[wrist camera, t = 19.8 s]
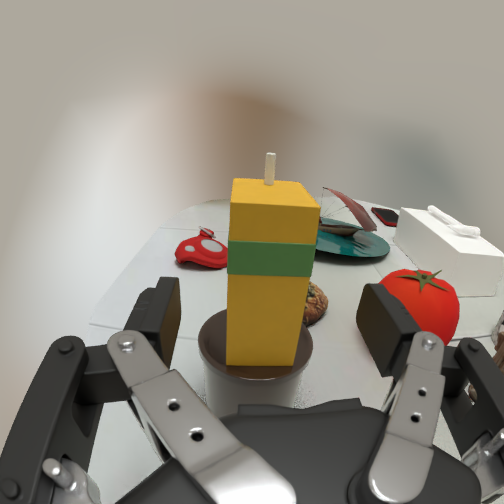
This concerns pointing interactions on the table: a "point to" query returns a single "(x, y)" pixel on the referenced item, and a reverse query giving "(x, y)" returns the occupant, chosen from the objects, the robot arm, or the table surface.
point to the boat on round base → (350, 233)
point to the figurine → (501, 359)
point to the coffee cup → (247, 372)
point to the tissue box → (450, 251)
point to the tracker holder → (203, 250)
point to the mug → (498, 329)
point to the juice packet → (268, 268)
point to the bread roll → (314, 304)
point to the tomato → (426, 300)
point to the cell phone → (386, 216)
